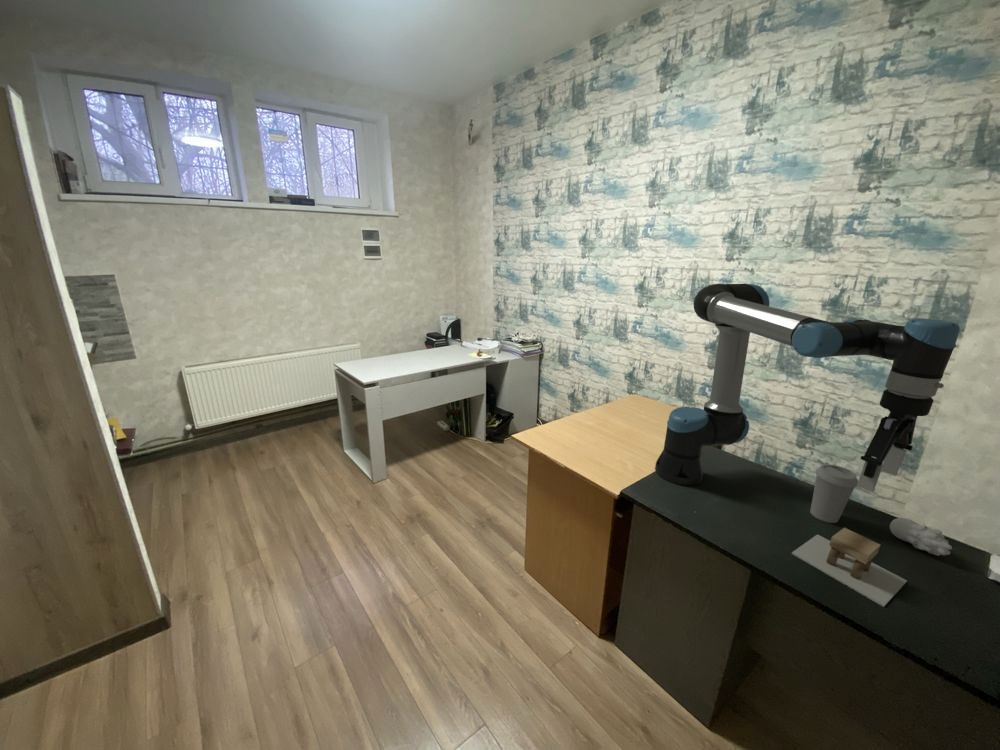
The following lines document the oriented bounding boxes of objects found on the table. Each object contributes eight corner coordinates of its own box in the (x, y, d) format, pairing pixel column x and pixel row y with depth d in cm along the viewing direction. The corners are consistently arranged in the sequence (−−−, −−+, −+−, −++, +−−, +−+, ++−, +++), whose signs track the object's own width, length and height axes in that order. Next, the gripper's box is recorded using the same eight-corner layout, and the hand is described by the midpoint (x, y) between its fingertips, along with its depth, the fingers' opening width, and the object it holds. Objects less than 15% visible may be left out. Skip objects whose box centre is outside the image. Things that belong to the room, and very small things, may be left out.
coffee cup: (853, 528, 109) (869, 482, 105) (814, 523, 111) (829, 478, 106) (832, 508, 118) (846, 464, 114) (797, 503, 120) (810, 460, 115)
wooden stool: (823, 561, 96) (831, 536, 94) (836, 551, 100) (844, 527, 98) (859, 581, 91) (868, 555, 88) (871, 570, 94) (880, 544, 92)
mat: (791, 553, 99) (791, 552, 99) (816, 535, 106) (817, 534, 106) (883, 607, 85) (884, 605, 84) (906, 581, 91) (907, 580, 91)
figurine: (901, 520, 109) (962, 546, 98) (888, 538, 109) (948, 567, 98) (895, 508, 106) (957, 534, 96) (881, 528, 106) (942, 556, 95)
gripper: (912, 409, 73) (877, 505, 79) (952, 389, 85) (918, 474, 91) (862, 397, 79) (832, 487, 85) (905, 379, 91) (877, 459, 97)
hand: (877, 480), depth 88 cm, fingers open, 13 cm apart
